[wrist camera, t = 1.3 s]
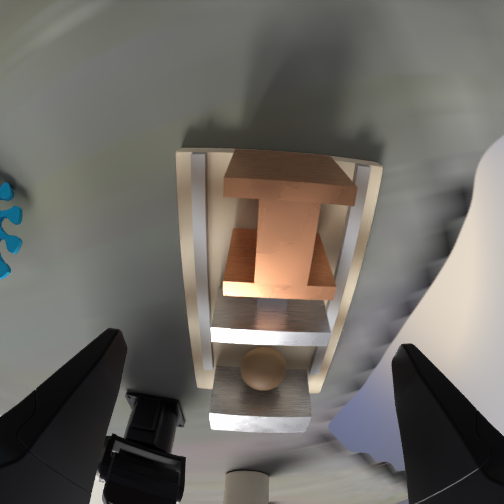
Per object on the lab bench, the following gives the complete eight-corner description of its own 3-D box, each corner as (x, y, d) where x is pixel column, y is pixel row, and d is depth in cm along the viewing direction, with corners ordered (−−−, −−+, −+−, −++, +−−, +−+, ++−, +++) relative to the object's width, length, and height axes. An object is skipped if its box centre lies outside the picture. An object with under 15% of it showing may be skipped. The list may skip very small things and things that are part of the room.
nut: (282, 365, 25) (284, 399, 22) (241, 363, 25) (238, 397, 22) (288, 337, 24) (290, 373, 20) (242, 335, 24) (239, 371, 20)
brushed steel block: (301, 387, 27) (304, 432, 23) (217, 384, 27) (211, 429, 23) (306, 369, 26) (311, 416, 21) (215, 365, 26) (209, 413, 21)
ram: (318, 304, 21) (329, 363, 17) (219, 299, 21) (208, 358, 17) (345, 157, 16) (378, 190, 11) (218, 148, 16) (200, 176, 11)
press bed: (318, 383, 29) (319, 397, 27) (198, 378, 29) (196, 392, 27) (376, 161, 17) (386, 169, 16) (181, 147, 17) (173, 154, 16)
